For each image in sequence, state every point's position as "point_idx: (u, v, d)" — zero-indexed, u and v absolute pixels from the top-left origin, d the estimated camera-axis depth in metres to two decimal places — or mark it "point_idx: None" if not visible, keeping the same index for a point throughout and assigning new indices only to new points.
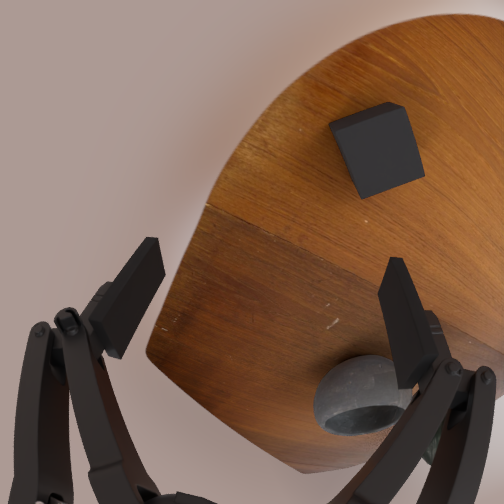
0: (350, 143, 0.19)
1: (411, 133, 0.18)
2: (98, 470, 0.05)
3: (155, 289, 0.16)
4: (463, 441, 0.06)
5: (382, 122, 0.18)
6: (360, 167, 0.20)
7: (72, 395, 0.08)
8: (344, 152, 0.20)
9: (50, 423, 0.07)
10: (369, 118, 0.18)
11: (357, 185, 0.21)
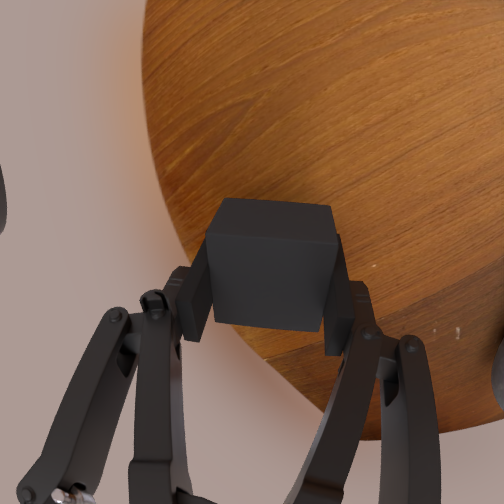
0: (235, 315, 0.16)
1: (252, 240, 0.13)
2: (142, 463, 0.06)
3: None
4: (404, 418, 0.07)
5: (220, 272, 0.14)
6: (272, 319, 0.15)
7: (139, 380, 0.09)
8: (244, 325, 0.16)
9: (99, 415, 0.08)
10: (211, 282, 0.15)
11: (296, 330, 0.16)
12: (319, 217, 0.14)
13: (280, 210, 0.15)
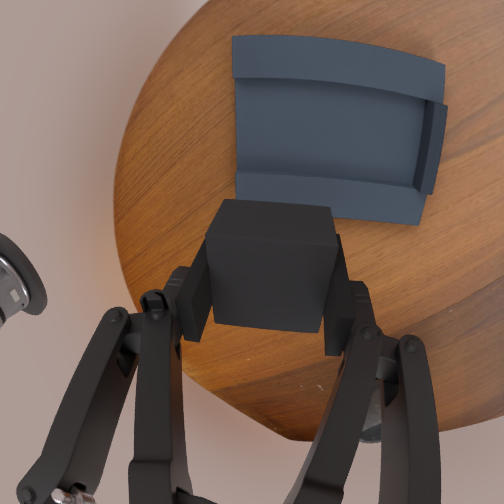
0: (235, 316, 0.16)
1: (252, 241, 0.13)
2: (142, 463, 0.06)
3: None
4: (405, 418, 0.07)
5: (220, 273, 0.14)
6: (272, 320, 0.15)
7: (139, 380, 0.09)
8: (244, 326, 0.16)
9: (99, 415, 0.08)
10: None
11: (295, 331, 0.16)
12: (319, 218, 0.14)
13: (280, 211, 0.15)
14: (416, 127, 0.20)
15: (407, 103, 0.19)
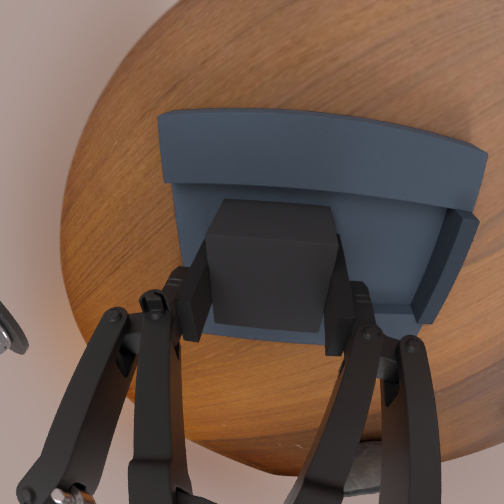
0: (235, 316, 0.16)
1: (252, 241, 0.13)
2: (142, 464, 0.06)
3: None
4: (405, 418, 0.07)
5: (220, 273, 0.14)
6: (272, 320, 0.15)
7: (138, 380, 0.09)
8: (244, 326, 0.16)
9: (99, 415, 0.08)
10: None
11: (295, 331, 0.16)
12: (319, 218, 0.14)
13: (280, 211, 0.15)
14: (429, 240, 0.16)
15: (422, 209, 0.15)
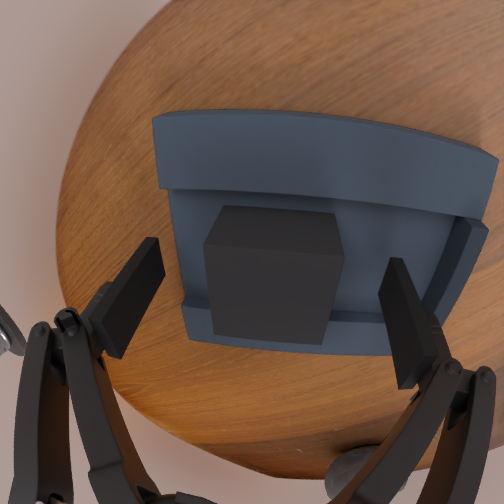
0: (235, 328, 0.15)
1: (252, 253, 0.12)
2: (99, 470, 0.05)
3: (155, 289, 0.16)
4: (463, 441, 0.06)
5: (219, 285, 0.13)
6: (274, 333, 0.15)
7: (72, 395, 0.08)
8: (245, 338, 0.15)
9: (50, 423, 0.07)
10: (209, 295, 0.14)
11: (298, 343, 0.15)
12: (323, 227, 0.13)
13: (282, 219, 0.14)
14: (436, 249, 0.15)
15: (430, 217, 0.14)
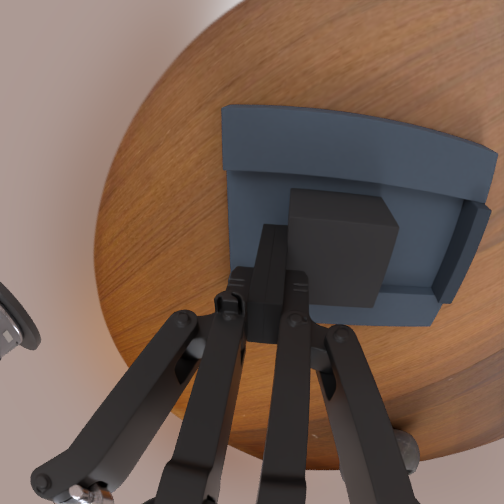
0: None
1: (331, 223, 0.14)
2: (179, 467, 0.06)
3: None
4: (348, 411, 0.08)
5: (297, 253, 0.15)
6: (336, 297, 0.17)
7: (196, 381, 0.09)
8: (310, 303, 0.17)
9: (143, 421, 0.08)
10: None
11: (354, 306, 0.17)
12: (377, 206, 0.16)
13: (344, 199, 0.16)
14: (448, 228, 0.17)
15: (444, 200, 0.16)
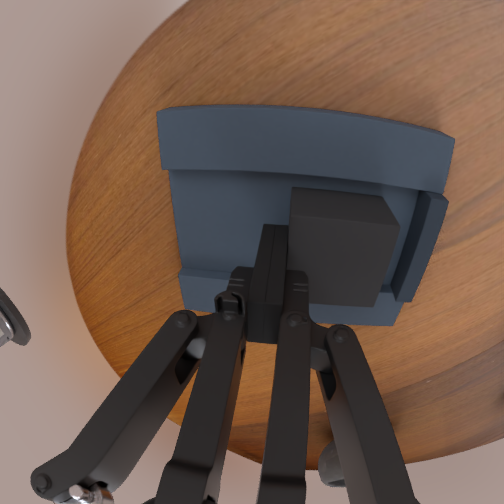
0: None
1: (332, 222, 0.14)
2: (180, 467, 0.06)
3: None
4: (348, 411, 0.08)
5: (298, 252, 0.15)
6: (337, 296, 0.17)
7: (197, 381, 0.09)
8: (310, 302, 0.17)
9: (143, 421, 0.08)
10: (286, 262, 0.16)
11: (355, 305, 0.17)
12: (378, 205, 0.16)
13: (345, 198, 0.16)
14: (403, 221, 0.18)
15: (394, 192, 0.17)
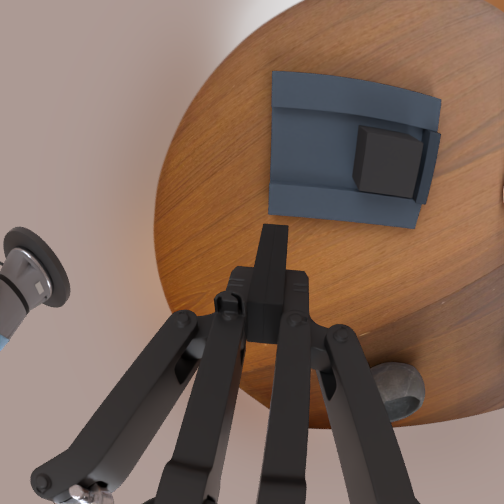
0: (372, 184, 0.26)
1: (388, 137, 0.23)
2: (179, 467, 0.06)
3: None
4: (348, 411, 0.08)
5: (370, 155, 0.24)
6: (391, 187, 0.26)
7: (196, 381, 0.09)
8: (375, 192, 0.26)
9: (143, 421, 0.08)
10: (363, 162, 0.25)
11: (401, 195, 0.26)
12: (408, 136, 0.24)
13: (390, 131, 0.25)
14: None
15: (408, 130, 0.25)
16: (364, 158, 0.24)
